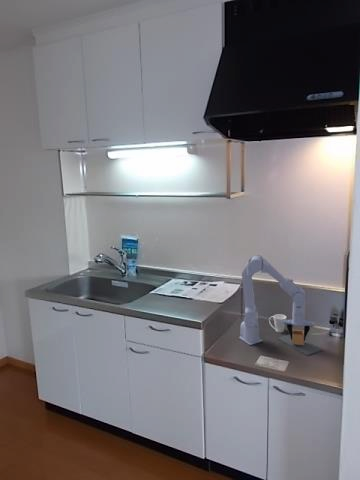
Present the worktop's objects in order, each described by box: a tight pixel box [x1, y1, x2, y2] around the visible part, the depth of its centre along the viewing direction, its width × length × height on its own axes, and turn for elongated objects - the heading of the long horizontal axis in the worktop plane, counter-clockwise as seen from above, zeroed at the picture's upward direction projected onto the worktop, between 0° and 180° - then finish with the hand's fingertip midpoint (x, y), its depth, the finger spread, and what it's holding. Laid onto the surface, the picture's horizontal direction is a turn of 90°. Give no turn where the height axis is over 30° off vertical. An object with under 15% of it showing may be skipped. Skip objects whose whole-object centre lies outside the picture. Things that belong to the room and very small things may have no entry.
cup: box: [268, 313, 287, 333], centre depth 202 cm, size 7×10×8 cm
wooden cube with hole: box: [292, 329, 304, 345], centre depth 185 cm, size 5×5×5 cm
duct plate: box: [277, 333, 324, 357], centre depth 186 cm, size 20×10×3 cm, turn 28°
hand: (298, 339), depth 185 cm, fingers closed on wooden cube with hole, 5 cm apart
